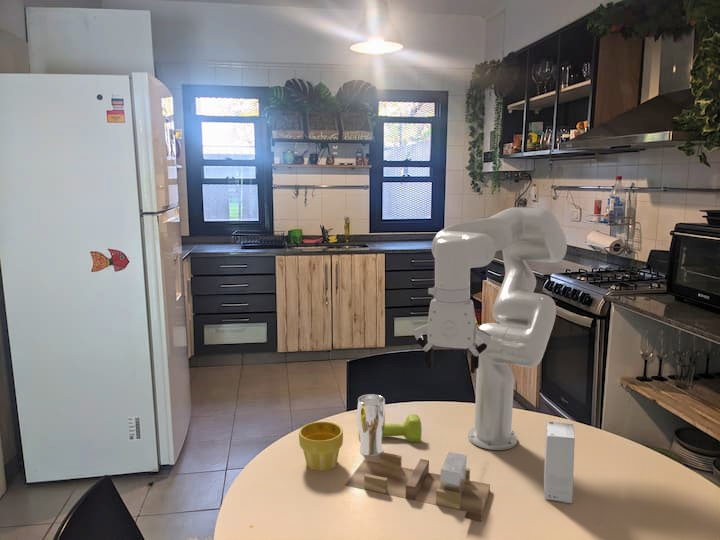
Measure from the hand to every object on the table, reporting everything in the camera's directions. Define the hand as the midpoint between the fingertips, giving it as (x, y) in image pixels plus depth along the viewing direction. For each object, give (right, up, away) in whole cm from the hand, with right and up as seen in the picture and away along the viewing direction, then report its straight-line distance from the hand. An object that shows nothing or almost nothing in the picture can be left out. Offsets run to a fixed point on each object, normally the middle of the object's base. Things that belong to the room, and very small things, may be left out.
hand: (451, 368), depth 126 cm
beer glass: (-18, -25, +15) cm, 34 cm away
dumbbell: (-13, -24, +22) cm, 35 cm away
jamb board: (-8, -27, 0) cm, 28 cm away
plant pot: (-30, -26, +9) cm, 40 cm away
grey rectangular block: (0, -26, -3) cm, 26 cm away
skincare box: (+23, -27, -1) cm, 36 cm away
